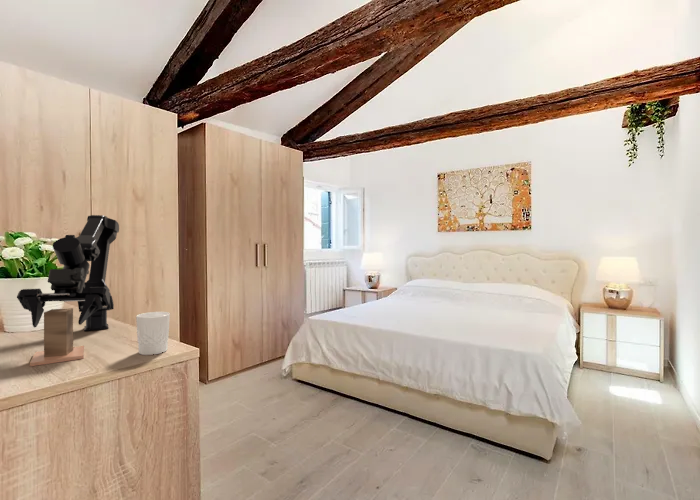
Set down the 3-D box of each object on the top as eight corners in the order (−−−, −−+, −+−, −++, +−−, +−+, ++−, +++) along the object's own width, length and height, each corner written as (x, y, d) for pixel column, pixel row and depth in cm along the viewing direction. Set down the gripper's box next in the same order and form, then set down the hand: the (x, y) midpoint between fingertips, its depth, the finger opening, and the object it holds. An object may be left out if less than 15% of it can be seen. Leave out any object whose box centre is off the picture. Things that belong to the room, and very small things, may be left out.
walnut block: (51, 351, 90) (51, 309, 90) (73, 350, 92) (73, 308, 92) (44, 357, 86) (43, 312, 86) (66, 355, 88) (66, 311, 88)
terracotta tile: (35, 355, 90) (35, 351, 90) (84, 348, 96) (84, 345, 96) (29, 366, 82) (29, 363, 82) (83, 358, 88) (83, 355, 88)
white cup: (144, 358, 89) (144, 318, 89) (131, 352, 94) (131, 314, 94) (175, 350, 95) (175, 314, 95) (161, 345, 100) (161, 310, 100)
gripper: (20, 257, 89) (-5, 308, 79) (107, 257, 96) (94, 304, 86) (35, 284, 97) (14, 334, 87) (114, 282, 103) (104, 328, 93)
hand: (57, 325), depth 88 cm, fingers open, 9 cm apart
